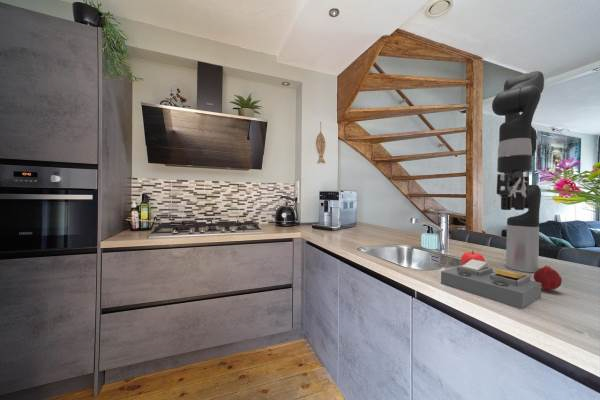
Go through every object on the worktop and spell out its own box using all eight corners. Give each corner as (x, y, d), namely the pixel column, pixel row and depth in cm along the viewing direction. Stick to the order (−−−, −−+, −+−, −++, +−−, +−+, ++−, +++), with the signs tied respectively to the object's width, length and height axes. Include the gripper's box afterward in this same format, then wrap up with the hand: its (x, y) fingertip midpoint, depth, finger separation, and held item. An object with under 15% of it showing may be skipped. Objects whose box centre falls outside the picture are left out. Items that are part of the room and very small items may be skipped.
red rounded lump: (567, 295, 67) (568, 268, 67) (543, 293, 68) (544, 266, 68) (550, 287, 73) (550, 262, 73) (528, 286, 74) (529, 261, 74)
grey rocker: (472, 262, 80) (471, 258, 80) (487, 265, 76) (487, 262, 76) (462, 269, 76) (461, 266, 76) (477, 273, 73) (477, 269, 73)
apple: (464, 273, 86) (464, 252, 86) (456, 267, 94) (457, 247, 94) (489, 276, 84) (490, 253, 84) (480, 269, 91) (480, 249, 91)
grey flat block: (462, 275, 83) (463, 261, 83) (541, 296, 66) (541, 278, 66) (440, 283, 76) (441, 267, 76) (522, 309, 59) (522, 288, 59)
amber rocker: (505, 274, 72) (505, 270, 72) (524, 278, 68) (524, 274, 68) (495, 273, 69) (496, 269, 69) (515, 277, 65) (515, 273, 65)
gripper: (509, 160, 76) (508, 209, 76) (487, 155, 70) (485, 209, 70) (541, 156, 70) (539, 210, 70) (519, 150, 63) (518, 210, 63)
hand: (512, 209), depth 70 cm, fingers open, 8 cm apart
